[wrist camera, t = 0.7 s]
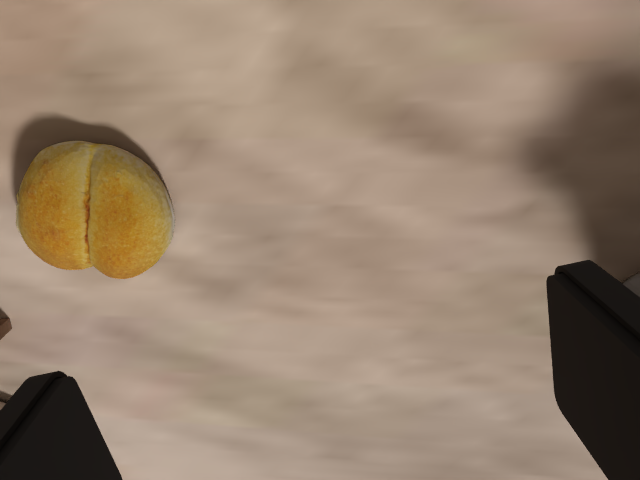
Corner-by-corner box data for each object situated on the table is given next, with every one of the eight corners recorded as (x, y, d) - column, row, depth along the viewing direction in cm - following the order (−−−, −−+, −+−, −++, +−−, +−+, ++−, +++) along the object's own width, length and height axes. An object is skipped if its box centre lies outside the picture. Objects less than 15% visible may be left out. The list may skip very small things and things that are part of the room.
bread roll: (170, 277, 34) (153, 306, 30) (31, 250, 33) (-4, 276, 29) (187, 157, 31) (170, 173, 27) (36, 123, 30) (-3, 135, 26)
